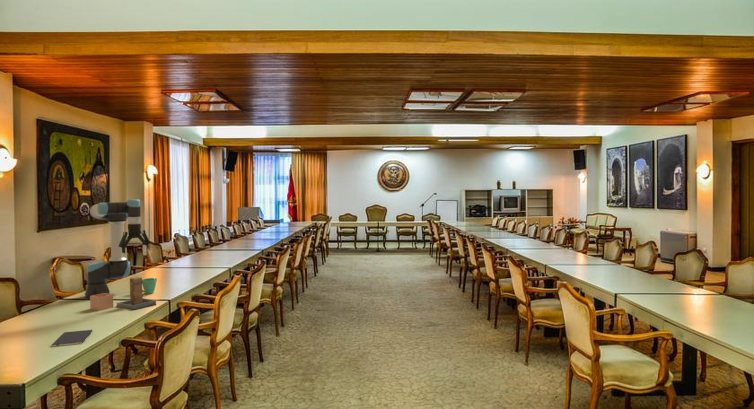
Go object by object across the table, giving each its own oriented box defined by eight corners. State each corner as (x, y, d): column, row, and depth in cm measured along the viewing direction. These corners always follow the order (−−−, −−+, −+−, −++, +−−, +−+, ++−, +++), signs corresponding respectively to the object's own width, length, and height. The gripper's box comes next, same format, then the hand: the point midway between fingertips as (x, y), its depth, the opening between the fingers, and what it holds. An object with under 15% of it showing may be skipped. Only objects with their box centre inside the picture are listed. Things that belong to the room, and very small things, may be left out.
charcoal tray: (116, 307, 304) (116, 303, 304) (140, 302, 318) (139, 297, 318) (132, 310, 297) (132, 305, 296) (156, 305, 311) (155, 300, 310)
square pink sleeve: (90, 310, 298) (89, 295, 298) (104, 307, 306) (104, 293, 306) (99, 312, 294) (98, 297, 294) (113, 308, 302) (113, 294, 302)
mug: (158, 291, 353) (158, 277, 352) (155, 294, 343) (154, 280, 343) (137, 292, 350) (136, 278, 350) (132, 295, 340) (132, 281, 340)
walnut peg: (130, 305, 306) (129, 278, 306) (137, 303, 311) (136, 277, 310) (135, 306, 304) (134, 279, 304) (142, 304, 308) (141, 277, 308)
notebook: (82, 344, 233) (92, 332, 254) (82, 341, 233) (92, 329, 253) (51, 347, 229) (64, 335, 249) (51, 344, 229) (64, 332, 249)
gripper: (119, 225, 297) (120, 259, 298) (155, 222, 319) (156, 254, 320) (111, 224, 301) (112, 258, 302) (148, 221, 323) (148, 253, 324)
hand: (135, 256), depth 311 cm, fingers open, 13 cm apart
